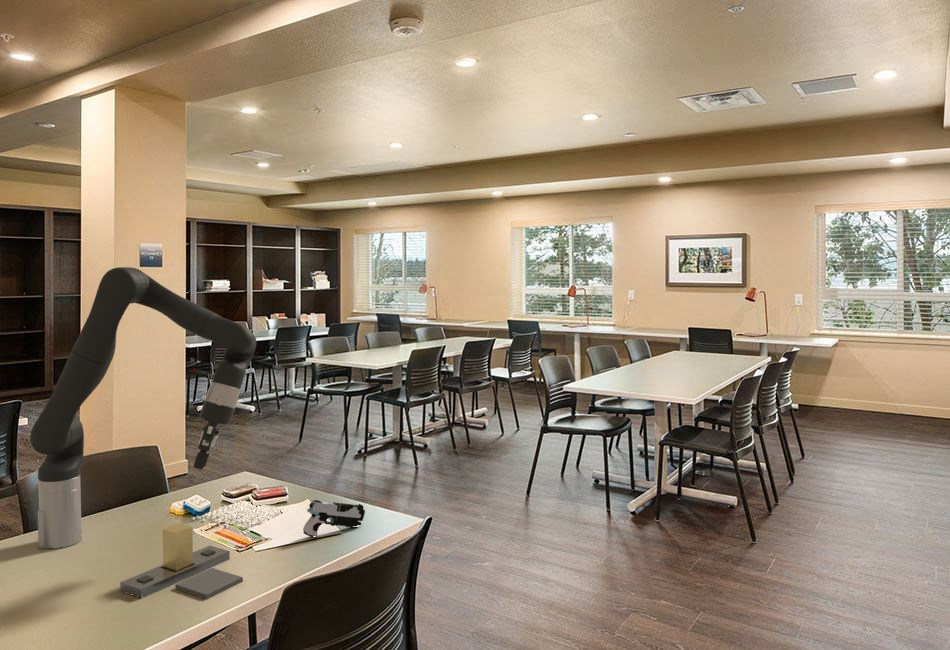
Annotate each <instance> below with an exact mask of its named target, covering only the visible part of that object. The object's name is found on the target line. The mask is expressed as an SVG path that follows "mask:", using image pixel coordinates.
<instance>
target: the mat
mask: <svg viewBox="0 0 950 650" xmlns="http://www.w3.org/2000/svg"><path fill="white" fill-rule="evenodd" d="M243 582H244V577H242V576H240V575H237V574H233V573H230V572H227V571H224V570H221V569H216V568H215V567H211V568H208V569H206V570H204V571H202V572H200V573H197V574H195V575H193V576H191V577H188V578H186V579H184V580H182V581H179V582H177V583H175V584H174V585H175V586H174V587H175V588H174V589H176V590H178V591H181V592H184V593H188V594H190V595H193V596H197V597H200V598H201V599H205V600H208V599H210V598H213V597H214V596H217V595H218V594H220V593H222V592H224V591H227V590H228V589H231V588H232V587H234V586H237V585H239V584H241V583H243Z"/></svg>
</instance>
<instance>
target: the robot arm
mask: <svg viewBox="0 0 950 650" xmlns="http://www.w3.org/2000/svg"><path fill="white" fill-rule="evenodd" d="M130 304H138V305H140V306H141V305H142V306H145V307H146V308H147V307H148V308H151V309H152V310H155V311H156V312H159V313H161V314H163V315H164V316H166V317H167V318H168V319H170V320H171V321H172V322H173V323H175V324H176V325H177V326H179V327H181V328H182V329H184V330H186V331H187V332H189V333H191V334H194V335H196V336H198V337H200V338H202V339H205V340H207V341H212V342H213V343H216V344H217V345H219V346H221V347H222V348H224V349H226V350H225V353H224V356H223V358H222V360H221V362H219V363H218V365H216V366H217V367H216V369H215V372H214V374H213V378H212V380H211V384H210V386H209V388H208V389H207V392H206V396H205V397H204V401H203V404H202V407H201V410H200V414H199V419H200V420H201V419H202V420H205V421H207V424H206V425H204V427H202V430H201V433H200V434H201V435H200V438H199V442H198V444H199V445H198V446H197V454H196V457H195V461H194V463H193V468H194V469H198V470H203V469H204V468H205V467H206V466H207V464H208V459H209V458H210V457H209V456H210V454H211V452H213V449H214V447H215V445H216V442H217V439H218V438H219V435H220V427H219V425H221V424H222V425H226V426H229V425H230V424H231V422H232V420H233V415H234V413H235V410H236V407H237V403H238V400H239V396H240V391H241V388H242V385H243V382H244V378H245V374H246V371H247V369H248V368H249V366H250V364H251V361H252V358H253V356H254V354H255V352H256V348H257V337H256V336H255V334H254V332H252V330H250V329H249V328H248V327H246V326H245V325H243V324H241V323H238V322H236V321H234V320H231V319H228V318H225V317H222V316H221V315H219V314H218V313H216V312H214V311H211V310H210V309H208V308H205V307H203V306H201V305H199V304H197V303H195V302H193V301H190V300H189V299H187V298H185V297H182V296H181V295H179V294H176V292H174V291H171V290H170V289H168V288H166V287H165V286H164V285H162V284H160V283H159V282H158V281H157V280H155V279H154V278H152V277H151V276H149V275H148V274H146V273H145V272H143V271H142V270H141V269H138V268H136V267H130V266H129V267H128V266H126V267H122V266H121V267H117V266H116V267H114V268H111V269H109V270H108V271H107V272H106V273H105V274H104V275H103V276H102V277H101V280H100V281H99V285H98V288H97V290H96V293H95V298H94V299H93V303H92V305H91V306H92V307H91V308H90V311H89V313H88V316H87V319H86V320H85V322H84V325H83V326H82V329H81V330H80V332H79V335H78V338H77V339H76V341H75V343H74V345H73V347H72V350H71V352H70V354H69V356H68V358H67V359H66V362H65V364H64V367H63V369H62V372H61V374H60V376H59V377H58V380H57V382H56V385H55V387H54V389H53V392H52V394H51V395H50V398H49V400H48V401H47V403H46V404H45V406H44V408H43V409H42V412H41V413H40V415H38V417H37V419H36V421H35V422H34V424H33V426H32V427H31V431H30V435H29V436H30V437H29V439H30V444H31V446H32V449H34V451H35V452H37V453H39V454H41V455H45V456H46V457H45V459H44V461H43V463H42V464H41V465H40V467H39V468H38V469H37V481H38V483H37V484H38V485H37V486H38V511H37V528H38V529H37V531H38V532H37V536H38V549H39V548H41V549H48V548H53V549H60V547H62V548H67V547H70V546H73V545H76V544H78V543H79V542H80V541H82V539H83V538H82V537H83V536H82V535H83V534H82V532H83V531H82V502H81V501H82V500H81V499H82V497H81V495H82V494H81V493H82V491H81V467H82V465H83V461H84V451H85V450H84V446H85V444H84V443H85V442H84V441H85V436H84V435H85V433H84V427H83V423H82V422H81V419H79V417H78V416H77V413H78V411H79V410H80V408H81V407H82V405H83V403H85V401H86V400H87V399H88V398H89V396H90V395H91V394H93V392H94V391H95V390H96V389H97V387H98V386H99V384H101V382H102V381H103V379H104V377H105V376H106V375H107V372H108V369H109V368H110V365H111V364H112V362H113V358H114V356H115V352H116V347H117V346H116V344H117V332H118V327H119V324H120V322H121V320H122V318H123V316H124V314H125V312H126V310H127V309H128V307H129V306H130ZM66 546H67V547H66Z"/></svg>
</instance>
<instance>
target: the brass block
mask: <svg viewBox="0 0 950 650" xmlns="http://www.w3.org/2000/svg"><path fill="white" fill-rule="evenodd" d="M193 545H194V544H193V526H190V525H187V524H183V523H177V524H173V525H171V526H168V527H164V528H163V529H162V565H163V569H166V570H169V571H172V572H175V573H176V572H179V571H181V570H183V569H186V568H188V567H190V566H193V552H194V551H193Z"/></svg>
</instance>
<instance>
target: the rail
mask: <svg viewBox="0 0 950 650" xmlns="http://www.w3.org/2000/svg"><path fill="white" fill-rule="evenodd" d="M230 554H231V553H230V550H227V549H223V548H221V547H216V546H213V545H207V546H206V547H205V546H204V547H203V548H200V549H198V550H196V551H193V566H190V567H188V568H186V569H183V570H181V571H179V572H176V573H175V572H172V571H169V570H166V569H163V564H162V565H159V566H156V567H154V568H152V569H149V570H147V571H144V572H142V573H139V574H137V575H134V576H132V577H130V578H127V579H124V580H123V581H120V584H119V586H120V590H122V591H124V592H127V593H130V594H133V595H135V596H138V597H140V598H139V599H143V598H142V597H144V598H145V596H146V597H148V596H150V595H152V593H153V594H155V593H157V592H159V591H161V590H163V589H166V588H168V587H171V586H172V585H175V584H177V583H179V582H182V581H184V580H186V579H188V578H191V577H193V576H195V575H197V574H200V573H202V572H204V571H206V570H208V569H211V568H214V567H215V566H217V565H219V564H222V563H225V562H227V561H228V560H230V559H231V558H230ZM122 591H121V592H122ZM124 592H123V593H124ZM154 592H155V593H154ZM127 593H126V594H127ZM130 594H129V595H130ZM149 594H150V595H149ZM133 595H132V596H133ZM147 595H148V596H147ZM135 596H134V597H135ZM138 597H137V598H138Z"/></svg>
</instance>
